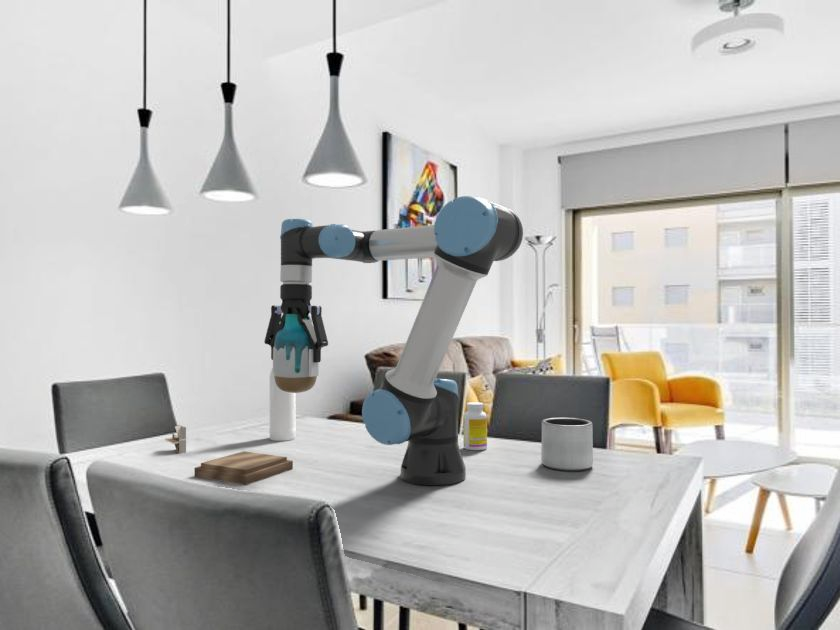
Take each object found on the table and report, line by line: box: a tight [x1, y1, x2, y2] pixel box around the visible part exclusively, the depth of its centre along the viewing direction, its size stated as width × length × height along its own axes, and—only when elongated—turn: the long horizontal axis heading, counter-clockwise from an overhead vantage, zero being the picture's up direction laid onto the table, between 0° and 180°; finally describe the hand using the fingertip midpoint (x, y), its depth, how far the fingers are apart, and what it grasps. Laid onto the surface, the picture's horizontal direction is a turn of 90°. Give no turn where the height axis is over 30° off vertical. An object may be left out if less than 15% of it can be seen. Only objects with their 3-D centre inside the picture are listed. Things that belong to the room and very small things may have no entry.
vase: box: [274, 314, 318, 394], centre depth 146 cm, size 11×11×19 cm
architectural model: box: [164, 424, 187, 454], centre depth 168 cm, size 3×7×8 cm, turn 42°
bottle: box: [268, 367, 297, 442], centre depth 185 cm, size 8×8×30 cm
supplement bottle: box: [462, 401, 488, 452], centre depth 171 cm, size 7×7×13 cm
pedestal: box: [194, 450, 294, 486], centre depth 144 cm, size 16×16×3 cm
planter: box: [540, 417, 594, 472], centre depth 150 cm, size 13×12×11 cm
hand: (295, 374), depth 146 cm, fingers closed on vase, 10 cm apart
